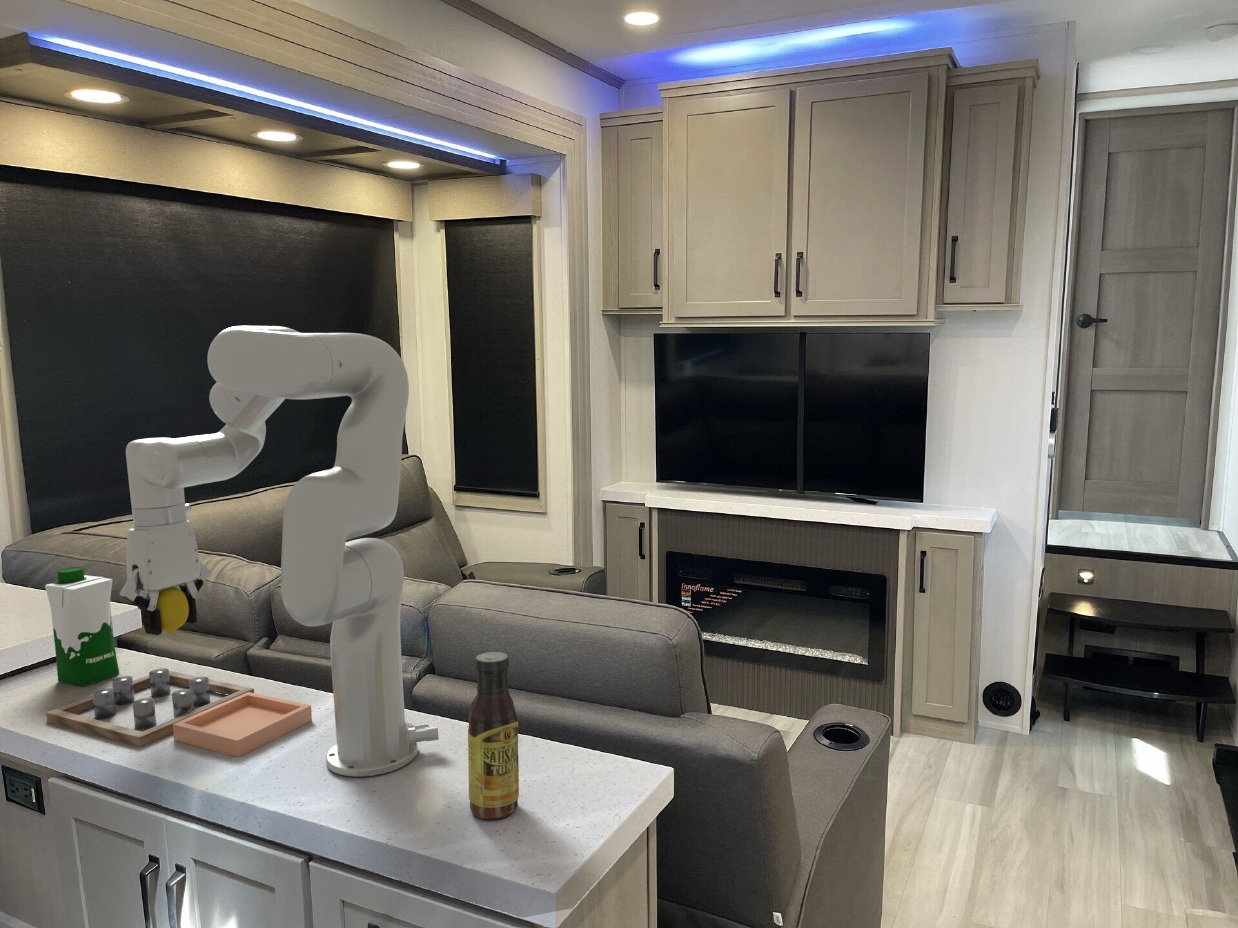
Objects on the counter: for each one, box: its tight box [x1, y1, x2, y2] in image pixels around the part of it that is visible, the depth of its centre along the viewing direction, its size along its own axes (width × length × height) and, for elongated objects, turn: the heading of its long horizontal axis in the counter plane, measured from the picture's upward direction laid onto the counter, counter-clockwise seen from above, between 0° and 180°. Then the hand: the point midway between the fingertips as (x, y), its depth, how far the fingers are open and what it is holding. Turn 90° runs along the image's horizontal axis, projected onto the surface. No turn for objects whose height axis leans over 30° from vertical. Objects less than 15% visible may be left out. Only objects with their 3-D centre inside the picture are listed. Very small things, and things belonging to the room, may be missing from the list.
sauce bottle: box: [467, 651, 520, 820], centre depth 112 cm, size 7×6×20 cm
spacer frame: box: [45, 670, 255, 748], centre depth 148 cm, size 23×21×2 cm
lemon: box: [156, 586, 189, 635], centre depth 143 cm, size 6×6×8 cm
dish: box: [172, 692, 313, 758], centre depth 139 cm, size 14×14×2 cm
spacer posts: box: [92, 667, 211, 731], centre depth 148 cm, size 18×13×4 cm
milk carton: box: [44, 566, 120, 687], centre depth 162 cm, size 9×9×20 cm
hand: (171, 626), depth 144 cm, fingers closed on lemon, 5 cm apart
